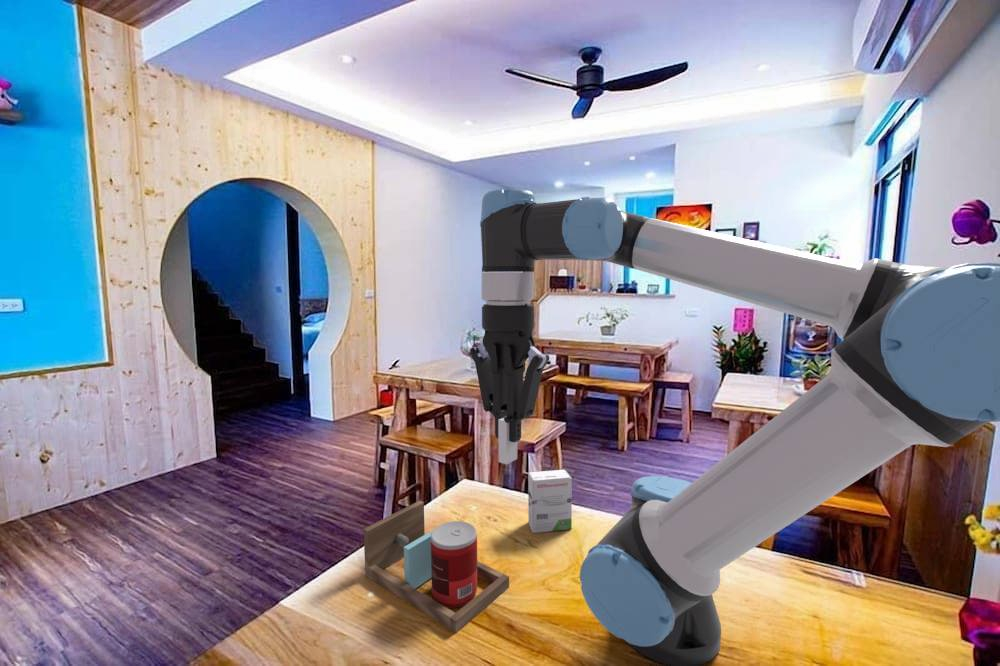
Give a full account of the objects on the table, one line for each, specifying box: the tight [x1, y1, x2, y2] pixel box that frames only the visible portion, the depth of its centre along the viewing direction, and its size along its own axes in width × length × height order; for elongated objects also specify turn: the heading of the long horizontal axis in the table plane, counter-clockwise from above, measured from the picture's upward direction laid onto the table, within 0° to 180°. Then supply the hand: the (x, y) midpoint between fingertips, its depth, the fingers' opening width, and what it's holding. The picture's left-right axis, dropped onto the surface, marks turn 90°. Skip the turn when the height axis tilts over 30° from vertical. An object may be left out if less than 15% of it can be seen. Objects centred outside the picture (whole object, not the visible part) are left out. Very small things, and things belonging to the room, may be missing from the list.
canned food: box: [431, 520, 478, 609], centre depth 81 cm, size 8×8×11 cm
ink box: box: [527, 469, 573, 534], centre depth 102 cm, size 9×5×12 cm, turn 99°
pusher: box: [403, 529, 434, 589], centre depth 85 cm, size 3×10×8 cm, turn 142°
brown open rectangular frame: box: [363, 500, 510, 634], centre depth 84 cm, size 22×13×9 cm, turn 52°
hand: (508, 460), depth 71 cm, fingers closed
